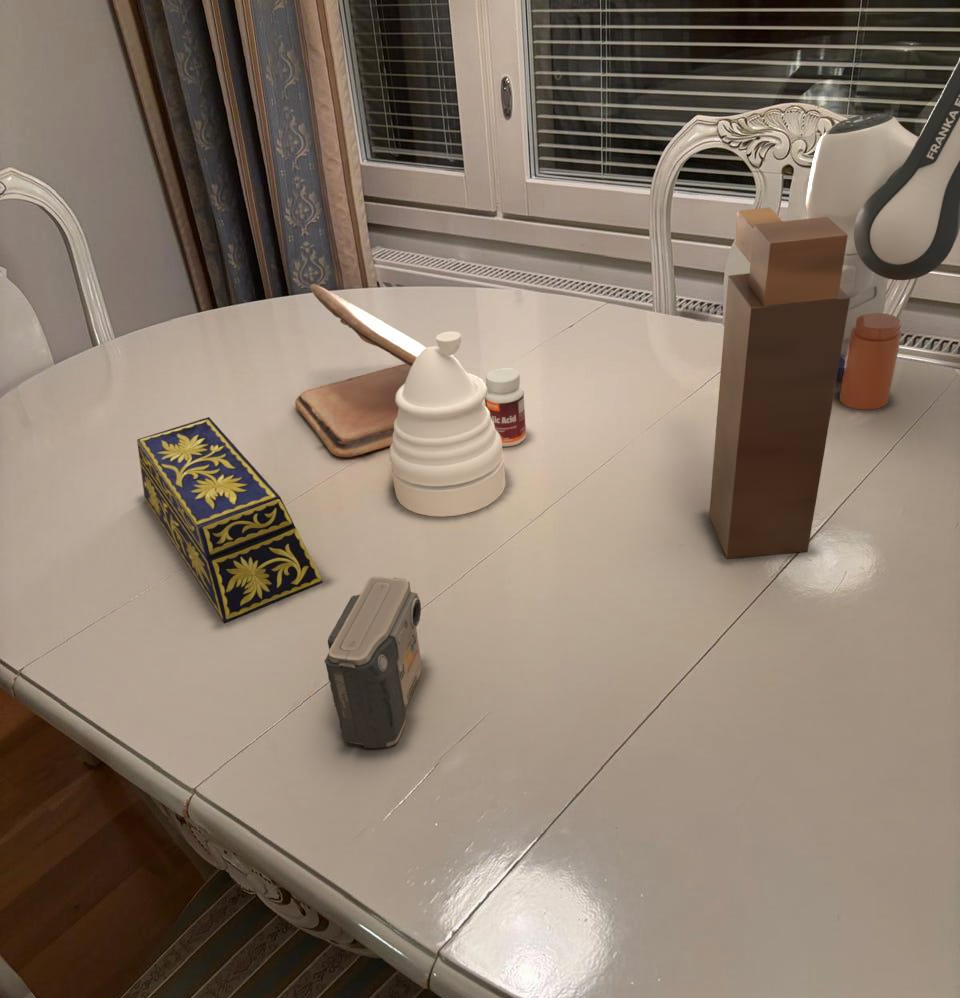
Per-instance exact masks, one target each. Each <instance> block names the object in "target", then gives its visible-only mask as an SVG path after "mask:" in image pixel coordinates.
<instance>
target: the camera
mask: <svg viewBox="0 0 960 998" xmlns="http://www.w3.org/2000/svg"><path fill="white" fill-rule="evenodd" d="M411 590H412V589H411V583H410V581H409V580H407V579H406V578H399V577H391V578H390V577H384V576H383V577H382V576H371V577H369V578H368V580H367V582H366V583H365V584H364V587H363V588H362V590H361V592H360V594H357V595H352V596H351V597H350V599H349V601H348V602H347V604H346V606H345V607H344V609H343V610H342V613H341V615H340V617H339V618H338V620H337V622H336V624H335V626H334V627H333V629H332V631H331V633H330V634H329V636H328V639H327V645H328V653H327V655H326V657H325V659H324V664H325V667H326V672H327V678H328V682H329V683H330V684H329V686H330V691H331V693H332V699H333V703H334V707H335V709H336V714H337V717H338V722H339V728H340V730H341V736H342V738H343V740H345V741H346V743H347V744H348V745H349V744H354V745H361V746H363V748H365V749H378V748H388V747H393V746H395V745H396V744H397V743H398V742H399V740H400V738H401V735H402V733H403V731H404V729H405V726H406V723H407V713H406V708H407V707H408V704H409V702H410V700H411V698H412V696H413V693H414V691H415V688H416V685H417V683H418V681H419V679H420V677H421V674H422V671H423V669H422V659H421V658H422V657H421V651H420V645H419V644H420V643H419V638H418V631H417V627H418V625H419V623H420V620H421V615H422V603H421V601H420V600H421V599H420V597H419V595H418V593H416V592H414V591H411Z"/></svg>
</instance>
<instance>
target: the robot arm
mask: <svg viewBox="0 0 960 998" xmlns="http://www.w3.org/2000/svg"><path fill="white" fill-rule="evenodd" d="M805 212H806V219H810V218H820V217H828V218H829V219H831V220H832V221H833V222H834V223H835V224H836V225H837V226H838V227H840V228H841V229H842V230H843V231H844V232H845V233H846V234H847V235H848V237H847V244H846V250H845V256H844V263H843V269H842V275H841V282H840V288H841V289H842V290H843V291H844V292H845V293H846V294H847V296H848V297H849V298H850V301H849V307H848V313H847V319H846V325H845V331H844V337H843V343H842V349H841V355H840V357H842V358H843V359H844V361H845V363H846V357H847V351H848V345H849V339H850V333H851V330H852V329H853V328H854V327H855V325H856V320H857V318H858V317H859V316H862V315H865V314H870V313H884V312H885V309H886V307H885V306H886V300H887V291H888V280H893V281H911V280H914V279H915V280H916V279H918V278H921V277H924V276H926V275H927V274H929V273H931V272H933V271H934V270H936V269H937V268H938V267H939V266H940V265H942V263H943V262H944V261H945V260H946V259H947V258H948V256H949V255H950V253H951V251H952V250H953V247H954V245H955V243H956V242H957V241H956V240H957V238H958V236H959V235H960V57H959V59H958V61H957V63H956V65H955V67H954V69H953V71H952V73H951V75H950V77H949V79H948V80H947V82H946V85H945V86H944V89H943V90H942V92H941V94H940V96H939V98H938V100H937V102H936V104H935V105H934V107H933V109H932V111H931V113H930V114H929V117H928V118H927V121H926V123H925V125H924V127H923V128H922V130H921V132H920V135H919V136H917V135H916V134H914V133H912V132H911V131H909V130H908V129H906V128H905V127H904V126H903V125H901V123H900V122H899V121H898V120H897V119H896V117H895V116H894V115H891V114H887V113H880V112H879V113H878V112H877V113H875V112H874V113H865V114H861V115H857V116H853V117H850V118H846V119H843V120H841V121H839V122H837V123H836V124H833V126H831V127H830V128H828V129H827V130H826V131H825V132H824V134H822V135H821V137H820V138H819V140H818V142H817V144H816V148H815V151H814V155H813V159H812V163H811V168H810V173H809V178H808V184H807V190H806V198H805ZM844 367H845V364H844Z"/></svg>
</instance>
